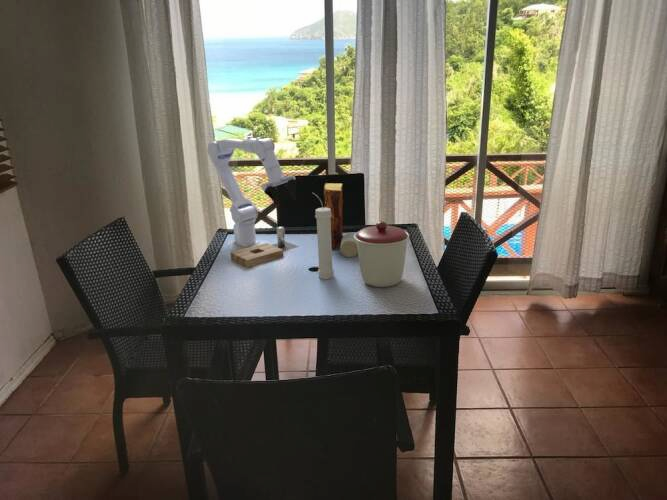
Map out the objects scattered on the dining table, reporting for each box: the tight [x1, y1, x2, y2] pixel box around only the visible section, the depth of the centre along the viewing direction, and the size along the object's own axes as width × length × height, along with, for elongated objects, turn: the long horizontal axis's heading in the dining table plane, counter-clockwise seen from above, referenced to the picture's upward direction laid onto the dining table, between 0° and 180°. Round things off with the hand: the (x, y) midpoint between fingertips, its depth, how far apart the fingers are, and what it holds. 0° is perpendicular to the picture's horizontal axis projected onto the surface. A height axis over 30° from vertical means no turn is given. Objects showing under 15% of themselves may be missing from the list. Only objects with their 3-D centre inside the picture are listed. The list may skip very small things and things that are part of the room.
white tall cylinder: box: [312, 192, 335, 280], centre depth 188 cm, size 6×6×30 cm
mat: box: [271, 240, 300, 252], centre depth 224 cm, size 10×10×1 cm
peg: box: [276, 226, 286, 248], centre depth 223 cm, size 3×3×8 cm
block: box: [230, 242, 284, 269], centre depth 212 cm, size 12×16×3 cm
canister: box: [354, 220, 410, 288], centre depth 183 cm, size 18×18×21 cm
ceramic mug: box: [339, 232, 358, 259], centre depth 212 cm, size 11×8×8 cm
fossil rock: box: [323, 182, 344, 250], centre depth 223 cm, size 24×8×24 cm, turn 176°
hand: (286, 202), depth 209 cm, fingers open, 7 cm apart
